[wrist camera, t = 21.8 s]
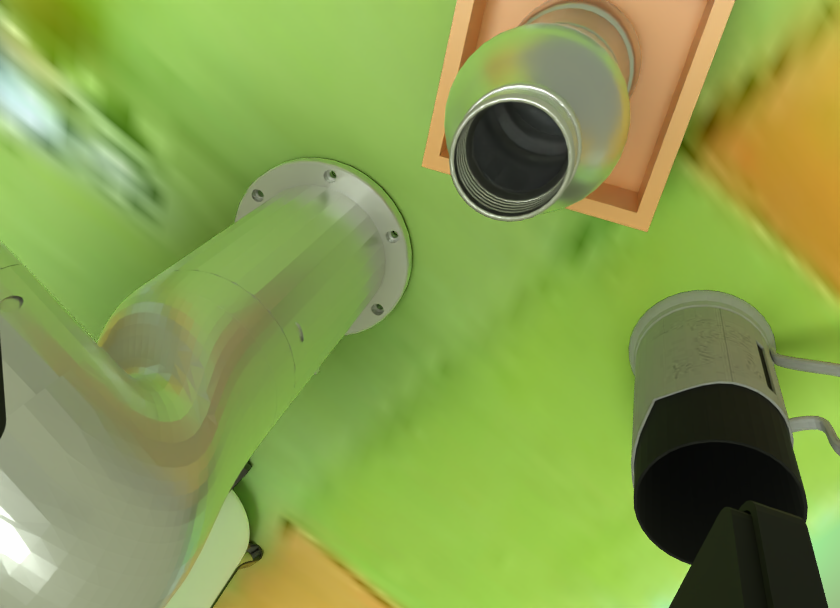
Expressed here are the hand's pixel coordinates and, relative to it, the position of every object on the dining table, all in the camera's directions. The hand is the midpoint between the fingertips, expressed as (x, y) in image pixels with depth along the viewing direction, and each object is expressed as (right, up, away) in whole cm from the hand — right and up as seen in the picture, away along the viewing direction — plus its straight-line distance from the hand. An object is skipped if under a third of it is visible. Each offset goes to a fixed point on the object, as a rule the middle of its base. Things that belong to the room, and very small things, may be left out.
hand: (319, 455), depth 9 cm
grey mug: (+21, -1, +38) cm, 43 cm away
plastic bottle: (+9, +14, +30) cm, 34 cm away
